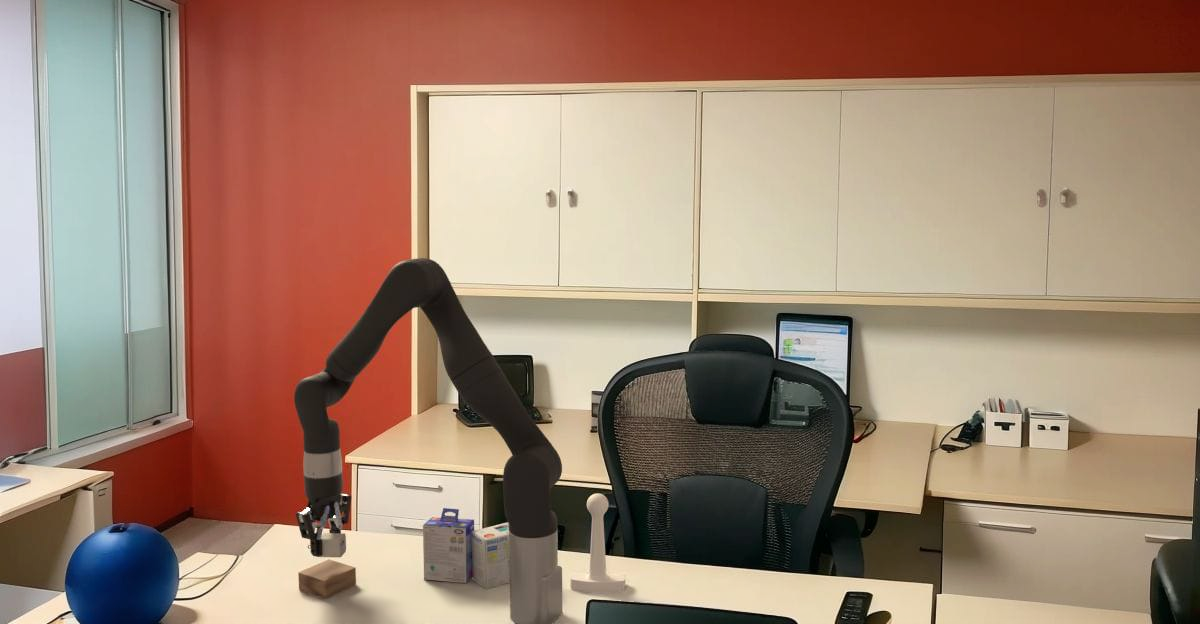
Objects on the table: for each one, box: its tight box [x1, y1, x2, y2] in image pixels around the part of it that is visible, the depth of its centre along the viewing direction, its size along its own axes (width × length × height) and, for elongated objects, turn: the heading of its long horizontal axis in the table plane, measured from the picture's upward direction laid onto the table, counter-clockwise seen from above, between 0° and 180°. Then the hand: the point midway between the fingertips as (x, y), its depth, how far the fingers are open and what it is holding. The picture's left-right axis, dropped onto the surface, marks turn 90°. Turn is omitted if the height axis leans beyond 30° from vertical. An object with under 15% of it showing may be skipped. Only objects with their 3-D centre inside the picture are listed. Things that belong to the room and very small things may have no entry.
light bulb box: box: [471, 521, 510, 590], centre depth 193 cm, size 11×7×11 cm, turn 126°
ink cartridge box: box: [422, 507, 475, 584], centre depth 193 cm, size 10×6×14 cm, turn 78°
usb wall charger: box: [307, 532, 347, 558], centre depth 188 cm, size 4×7×4 cm, turn 87°
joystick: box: [570, 492, 626, 594], centre depth 189 cm, size 11×8×20 cm
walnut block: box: [297, 559, 357, 600], centre depth 189 cm, size 8×8×4 cm
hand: (326, 550), depth 188 cm, fingers closed on usb wall charger, 4 cm apart
